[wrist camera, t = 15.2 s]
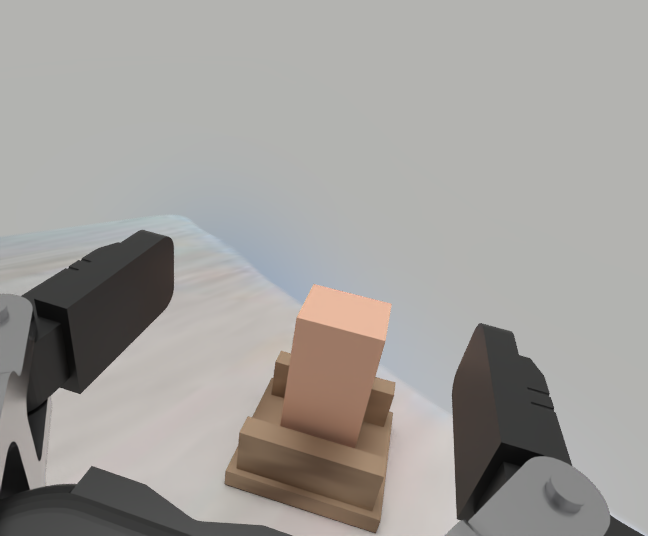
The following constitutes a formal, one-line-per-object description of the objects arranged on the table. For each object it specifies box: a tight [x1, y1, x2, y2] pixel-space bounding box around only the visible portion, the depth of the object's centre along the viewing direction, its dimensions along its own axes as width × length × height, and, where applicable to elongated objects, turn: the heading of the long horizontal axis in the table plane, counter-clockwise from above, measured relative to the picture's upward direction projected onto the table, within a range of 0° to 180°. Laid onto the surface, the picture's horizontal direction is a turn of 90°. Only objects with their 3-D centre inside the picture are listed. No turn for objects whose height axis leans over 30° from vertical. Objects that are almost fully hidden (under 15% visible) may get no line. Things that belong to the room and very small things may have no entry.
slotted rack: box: [225, 351, 395, 533], centre depth 27 cm, size 9×8×4 cm
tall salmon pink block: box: [280, 284, 391, 448], centre depth 25 cm, size 4×4×10 cm
